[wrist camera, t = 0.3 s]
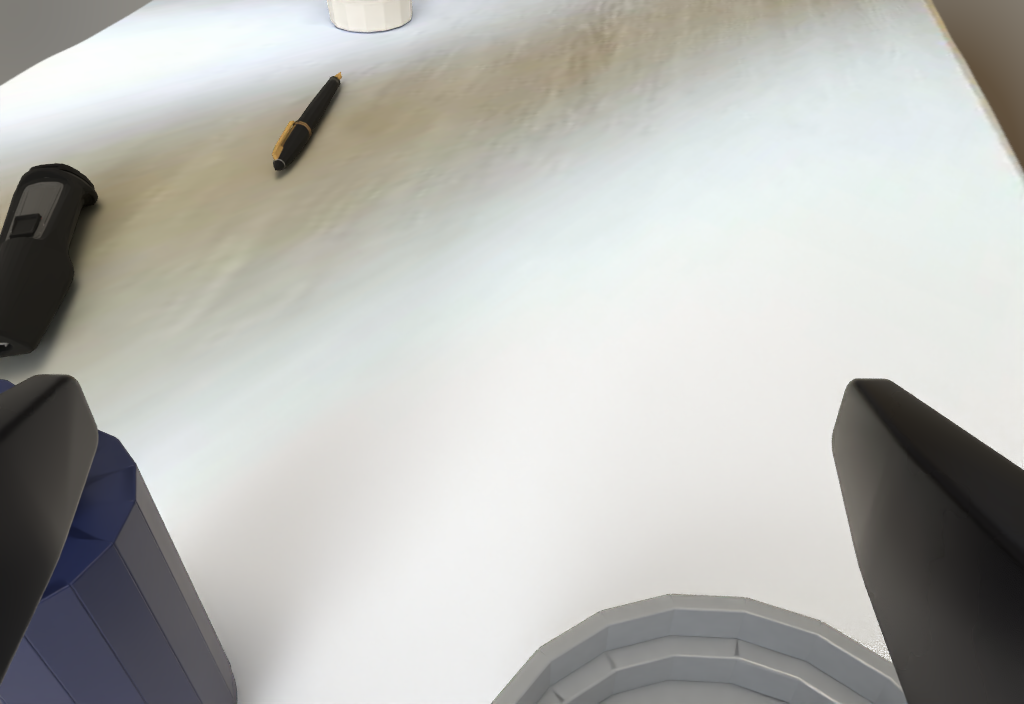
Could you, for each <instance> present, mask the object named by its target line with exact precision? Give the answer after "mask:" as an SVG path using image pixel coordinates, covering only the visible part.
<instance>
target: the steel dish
mask: <svg viewBox="0 0 1024 704" xmlns="http://www.w3.org/2000/svg"><path fill="white" fill-rule="evenodd" d="M491 704H907V701H906V698H905V695H904V693H903V690H902V687H901V684H900V681H899V679H898V676H897V673H896V670H895V668H894V665H893V663H891V662H890V661H888V660H886V659H885V658H883V657H881V656H880V655H878V654H876V653H875V652H873V651H871V650H870V649H868V648H866V647H865V646H863V645H861V644H860V643H858V642H856V641H854V640H853V639H851V638H849V637H848V636H846V635H844V634H843V633H841V632H839V631H838V630H836V629H834V628H833V627H831V626H829V625H828V624H826V623H824V622H821V621H820V620H817V619H814V618H811V617H807V616H804V615H801V614H798V613H795V612H791V611H788V610H785V609H782V608H779V607H775V606H772V605H769V604H766V603H763V602H759V601H756V600H753V599H750V598H744V597H730V596H708V595H686V594H671V595H670V594H667V595H663V596H659V597H654V598H650V599H646V600H642V601H638V602H634V603H630V604H626V605H622V606H617V607H613V608H609V609H605V610H602V611H601V612H600V611H599V612H597V613H596V614H594V615H592V616H591V617H589V618H588V619H586V620H584V621H583V622H581V623H579V624H578V625H576V626H574V627H573V628H571V629H569V630H568V631H566V632H564V633H563V634H561V635H560V636H558V637H556V638H555V639H553V640H551V641H550V642H548V643H546V644H545V645H543V646H541V647H540V648H539V649H538V650H536V651H535V653H534V654H533V655H532V656H531V657H530V658H529V660H528V661H527V662H526V663H525V664H524V665H523V667H522V668H521V669H520V670H519V671H518V672H517V674H516V675H515V676H514V677H513V678H512V679H511V681H510V682H509V683H508V684H507V685H506V686H505V688H504V689H503V690H502V691H501V692H500V693H499V695H498V696H497V697H496V698H495V699H494V701H493V702H492V703H491Z"/></svg>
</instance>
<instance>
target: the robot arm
mask: <svg viewBox="0 0 1024 704" xmlns="http://www.w3.org/2000/svg"><path fill="white" fill-rule="evenodd" d="M97 446H98V429H97V425H96V423H95V420H94V418H93V415H92V413H91V411H90V408H89V406H88V403H87V401H86V398H85V396H84V394H83V391H82V389H81V386H80V384H79V383H78V381H77V380H76V379H75V378H74V377H72V376H70V375H50V374H42V375H35V376H32V377H30V378H28V379H26V380H25V381H23V382H21V383H19V384H17V385H15V386H14V387H12V388H10V389H8V390H6V391H4V392H3V393H1V394H0V685H1V683H2V681H3V679H4V677H5V675H6V672H7V670H8V668H9V666H10V664H11V662H12V660H13V657H14V655H15V653H16V651H17V649H18V647H19V645H20V642H21V640H22V638H23V636H24V634H25V632H26V630H27V628H28V625H29V623H30V621H31V619H32V617H33V615H34V613H35V610H36V608H37V606H38V604H39V602H40V600H41V598H42V595H43V593H44V591H45V589H46V587H47V585H48V583H49V580H50V578H51V576H52V574H53V571H54V569H55V567H56V565H57V562H58V560H59V558H60V555H61V552H62V550H63V547H64V544H65V542H66V539H67V536H68V533H69V530H70V527H71V524H72V521H73V518H74V515H75V512H76V509H77V506H78V503H79V500H80V497H81V494H82V491H83V488H84V485H85V482H86V479H87V476H88V473H89V470H90V467H91V464H92V462H93V459H94V456H95V453H96V450H97ZM832 452H833V457H834V461H835V465H836V470H837V474H838V479H839V483H840V487H841V492H842V496H843V501H844V505H845V510H846V514H847V518H848V523H849V527H850V532H851V536H852V541H853V545H854V549H855V553H856V557H857V561H858V565H859V568H860V571H861V574H862V577H863V580H864V584H865V587H866V589H867V592H868V595H869V598H870V601H871V603H872V606H873V609H874V612H875V614H876V617H877V620H878V623H879V626H880V628H881V631H882V634H883V637H884V640H885V642H886V645H887V648H888V651H889V654H890V656H891V659H892V662H893V665H894V668H895V670H896V673H897V676H898V679H899V681H900V684H901V687H902V690H903V693H904V695H905V698H906V701H907V704H1024V470H1023V469H1021V468H1020V467H1018V466H1017V465H1015V464H1014V463H1012V462H1011V461H1009V460H1008V459H1007V458H1005V457H1004V456H1002V455H1001V454H999V453H998V452H996V451H995V450H993V449H992V448H990V447H989V446H987V445H986V444H984V443H983V442H981V441H980V440H978V439H977V438H975V437H974V436H972V435H971V434H969V433H968V432H966V431H965V430H963V429H962V428H961V427H959V426H958V425H956V424H955V423H953V422H952V421H950V420H949V419H947V418H946V417H944V416H943V415H941V414H940V413H938V412H937V411H935V410H934V409H932V408H931V407H929V406H928V405H926V404H925V403H923V402H922V401H920V400H919V399H917V398H916V397H915V396H913V395H912V394H910V393H909V392H907V391H906V390H904V389H903V388H901V387H900V386H898V385H897V384H895V383H894V382H892V381H890V380H888V379H854V380H852V381H850V382H849V384H848V385H847V387H846V389H845V392H844V396H843V399H842V402H841V406H840V409H839V412H838V416H837V419H836V423H835V426H834V429H833V434H832Z"/></svg>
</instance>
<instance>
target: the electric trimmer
mask: <svg viewBox="0 0 1024 704" xmlns="http://www.w3.org/2000/svg"><path fill="white" fill-rule="evenodd" d="M97 199H98V196H97V193H96V191H95V190H94V185H93V184H92V183H91V182H90V180H89V179H88V178H87V177H86V176H85V175H83V174H82V173H80V172H79V171H78V170H76V169H74V168H72V167H70V166H68V165H65V164H58V163H55V164H45V165H39V166H35V167H32V168H31V169H30V170H29V171H28V172H26V173H25V174H24V175H23V176H22V178H21V180H20V181H19V184H18V186H17V188H16V190H15V192H14V195H13V198H12V201H11V204H10V207H9V210H8V213H7V216H6V219H5V222H4V225H3V228H2V231H1V234H0V357H6V356H12V355H19V354H25V353H31V352H32V351H33V350H35V349H36V348H37V346H38V344H39V343H40V341H41V339H42V337H43V335H44V333H45V331H46V330H47V328H48V326H49V324H50V322H51V320H52V319H53V317H54V315H55V313H56V311H57V309H58V308H59V306H60V304H61V302H62V300H63V298H64V296H65V294H66V292H67V290H68V288H69V286H70V284H71V282H72V280H73V275H74V269H73V265H72V263H71V260H70V258H69V254H68V248H69V245H70V242H71V239H72V236H73V233H74V230H75V227H76V223H77V220H78V217H79V214H80V211H81V208H82V207H84V206H90V205H94V204H95V203H96V201H97Z"/></svg>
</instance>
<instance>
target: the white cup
mask: <svg viewBox="0 0 1024 704" xmlns="http://www.w3.org/2000/svg"><path fill="white" fill-rule="evenodd" d="M327 4H328V9H329V15H330V19H331V22H332V23H333V24H334V25H335V26H336V27H338V28H341V29H344V30H348V31H355V32H375V31H385V30H389V29H393V28H396V27H400V26H402V25H404V24H405V23H407V22H409V21H410V20H411V17H412V0H327Z"/></svg>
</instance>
